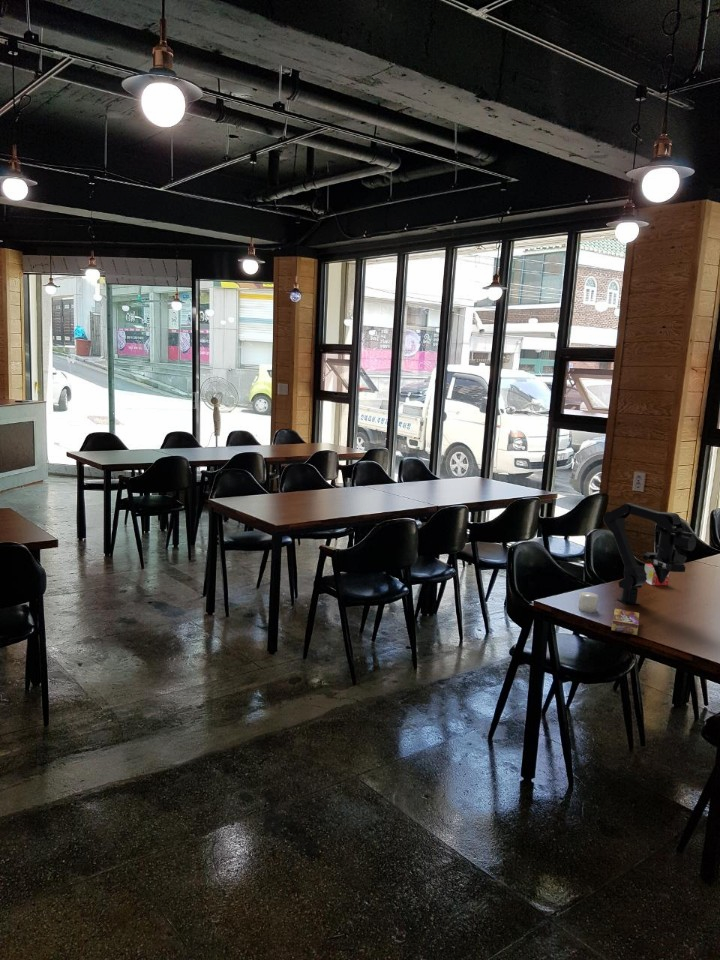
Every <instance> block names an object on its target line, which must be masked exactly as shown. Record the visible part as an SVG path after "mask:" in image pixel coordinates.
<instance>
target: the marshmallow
mask: <svg viewBox="0 0 720 960" xmlns="http://www.w3.org/2000/svg"><path fill="white" fill-rule="evenodd" d="M578 598H579V599H578V605H577V609H578V608H579V609H580V610H579V609H578V610H579V611H581V610H582V612H584V611H585V613H590V612H594V613H597V612H596V611H598V606H599V605H598V603H599V594H596V593H594V592H588V591H582V592H580V593H579V597H578Z"/></svg>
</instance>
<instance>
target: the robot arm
mask: <svg viewBox="0 0 720 960" xmlns="http://www.w3.org/2000/svg"><path fill="white" fill-rule="evenodd" d="M631 515H632V516H636V517H639V518H643V519H645V520H649V521H652V522H653V523H655V524H656V525H657V526H658V527H657V528H656V529H654V531H655V532H658V533H659V539H658V544H657V545H656V546H655V549H657V552H645V553H644V554H643V560H645V561H650V560H653V563H651V564H652V565H653V567H654V570H655V572H656V575H657V578H658V580H659V583H663V582H664V580H665V578H666V577H667V575H668V573H669V572H670V573H671V572H672V573H685V572H686V569H687V567H686V566H685V562H686V560H687V556H685V555H682V554H680V553H678V552H679V551H678V550H677V548H678V549H681V550H686V551H689V552H692V551H694V550H695V548H696V546H697V539H696V537H695V533H693V532H687V531H686V529H685V527H684V525H683V524H682V521H681V517H680V515H679V514H678V513H675V512H669V511H658V510H655V509H651V508H648V507H645V506H644V507H643V506H641V505H637V504H635V503H634V502H627V503H624V504H622V505H620V506H619V507H617V508H615V509H613V510H610V511H606V512H605V513H604V515H603V517H602V518H603V522H604V525H605V526H606V528H607V529H608V530H609V531H610V532H611V534H612V535H613V537H614V540H615V544H616V546H617V549H618V551H619V555H620V556H621V560H622V563H623V566H624V568H623V577H624V578H622V579H621V580H619V581H618V586H619V588H621V592H620V597H618V598H616V600H618V601H619V602H620V603H621V602H622V603H623V604H625V605H640V602H638V592H639V589H641V588H642V587H643V585H645V583H647V582H646V580H647V577H646V575H647V574H646V572H645V565H639V564H638V562H637V560H636V558H635V554H634V552H633V550H632V546H631V543H630V542H629V538H628V535H627V533H626V523H627V522H626V519H627V518H629V517H630V516H631Z"/></svg>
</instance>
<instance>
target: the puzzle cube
mask: <svg viewBox="0 0 720 960" xmlns="http://www.w3.org/2000/svg"><path fill="white" fill-rule="evenodd" d="M652 564H653V563H645V564H644V569H645V572H646V574H647V575H646V577H647V580H646V582H645V583H647V584H649V585H651V586H660V585H668V586H669V582H670V575H671V574H670V573H671V571H670V572H669V573H668V575H667V577H666V578H665V580H664V582H663V583H659V580H658V578H657V575H656V572H655V570H654V567H653V565H652Z"/></svg>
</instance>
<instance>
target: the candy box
mask: <svg viewBox="0 0 720 960" xmlns="http://www.w3.org/2000/svg"><path fill="white" fill-rule="evenodd" d="M613 613H614V614H613V618H612V623H611V631H613V632H619V633H623V634H628V635H635V636H637V635H638V632H639V625H640V624H639V623H640V612H635V611H630V610H624V609H621V608H619V609H618V608H614V612H613Z"/></svg>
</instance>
